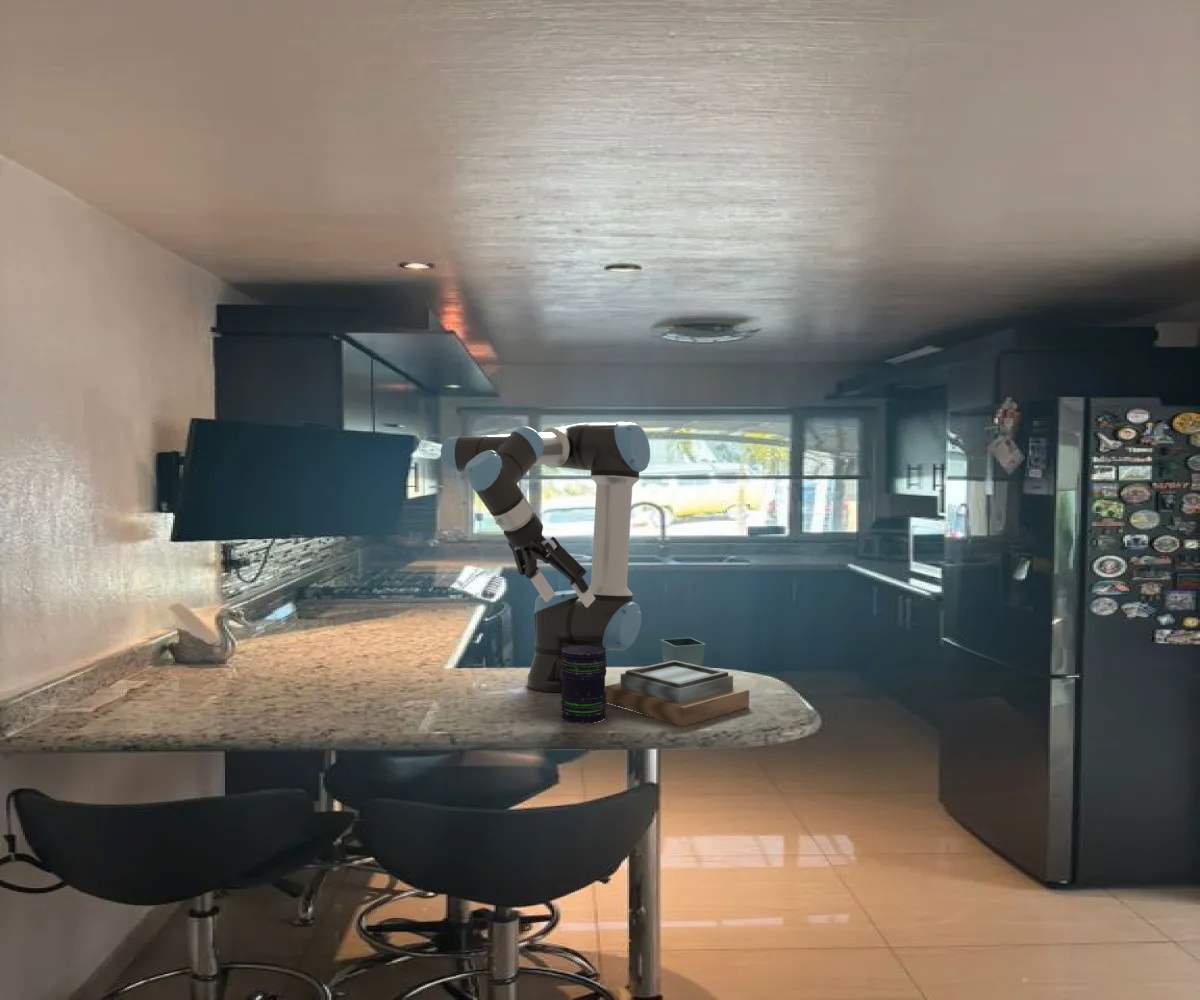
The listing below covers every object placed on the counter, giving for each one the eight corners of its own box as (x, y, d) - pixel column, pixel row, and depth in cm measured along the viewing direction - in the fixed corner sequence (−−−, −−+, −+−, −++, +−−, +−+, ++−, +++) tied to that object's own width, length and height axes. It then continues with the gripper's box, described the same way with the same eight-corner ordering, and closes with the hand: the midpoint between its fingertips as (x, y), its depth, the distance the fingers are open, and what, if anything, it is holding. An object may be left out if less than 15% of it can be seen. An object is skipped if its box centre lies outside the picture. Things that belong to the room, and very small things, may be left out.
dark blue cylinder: (554, 713, 204) (555, 646, 203) (596, 709, 207) (597, 643, 207) (569, 726, 195) (569, 655, 194) (613, 721, 198) (613, 652, 197)
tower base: (604, 703, 212) (605, 669, 212) (670, 687, 227) (670, 655, 227) (683, 726, 195) (683, 689, 194) (748, 707, 210) (749, 673, 209)
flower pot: (705, 678, 237) (706, 643, 236) (674, 681, 233) (675, 646, 233) (690, 670, 245) (690, 637, 244) (659, 673, 241) (660, 639, 241)
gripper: (472, 532, 194) (523, 607, 202) (543, 534, 175) (597, 617, 183) (496, 509, 198) (545, 584, 206) (568, 509, 179) (619, 592, 187)
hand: (570, 600), depth 195 cm, fingers open, 13 cm apart
